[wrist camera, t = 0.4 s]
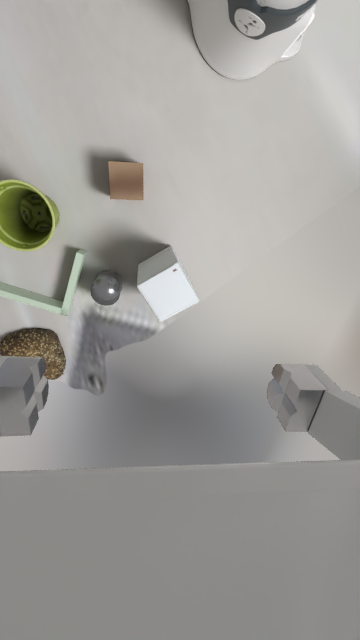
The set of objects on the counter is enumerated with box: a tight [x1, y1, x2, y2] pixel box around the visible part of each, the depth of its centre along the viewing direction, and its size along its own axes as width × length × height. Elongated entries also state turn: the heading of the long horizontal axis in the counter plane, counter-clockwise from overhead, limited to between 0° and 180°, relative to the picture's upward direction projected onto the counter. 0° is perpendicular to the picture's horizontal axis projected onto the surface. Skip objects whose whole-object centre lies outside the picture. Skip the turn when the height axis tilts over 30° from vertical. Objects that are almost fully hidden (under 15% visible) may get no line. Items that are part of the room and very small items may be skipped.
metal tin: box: [91, 271, 122, 305], centre depth 50 cm, size 5×5×5 cm
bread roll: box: [0, 328, 66, 380], centre depth 55 cm, size 13×12×5 cm
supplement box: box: [137, 246, 199, 322], centre depth 47 cm, size 7×7×13 cm
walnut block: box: [108, 161, 143, 200], centre depth 43 cm, size 5×5×5 cm
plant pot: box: [0, 180, 59, 251], centre depth 42 cm, size 9×9×9 cm
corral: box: [0, 249, 87, 316], centre depth 48 cm, size 12×17×3 cm
